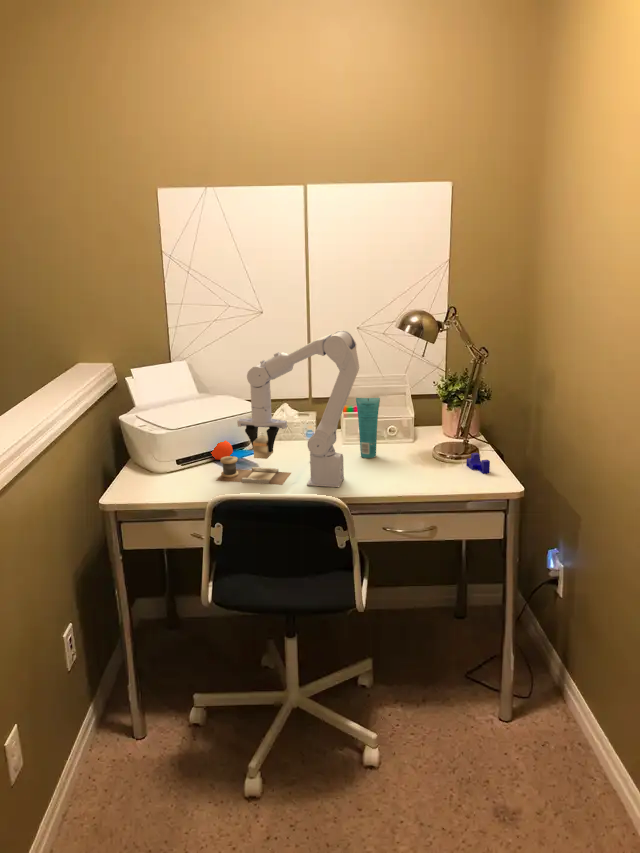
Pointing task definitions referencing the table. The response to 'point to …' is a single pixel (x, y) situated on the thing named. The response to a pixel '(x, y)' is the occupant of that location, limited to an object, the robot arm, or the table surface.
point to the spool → (229, 466)
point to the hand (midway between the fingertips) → (263, 450)
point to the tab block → (261, 447)
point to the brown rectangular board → (259, 476)
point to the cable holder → (478, 463)
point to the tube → (368, 425)
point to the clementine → (222, 450)
